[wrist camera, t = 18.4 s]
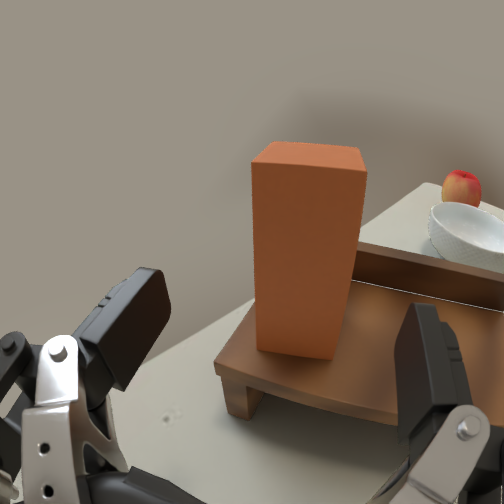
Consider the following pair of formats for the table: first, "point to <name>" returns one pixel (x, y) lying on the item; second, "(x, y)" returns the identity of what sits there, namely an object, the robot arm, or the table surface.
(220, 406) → the table surface
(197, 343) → the table surface
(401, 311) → the shelf
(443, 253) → the cereal bowl
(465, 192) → the apple
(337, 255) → the carton
